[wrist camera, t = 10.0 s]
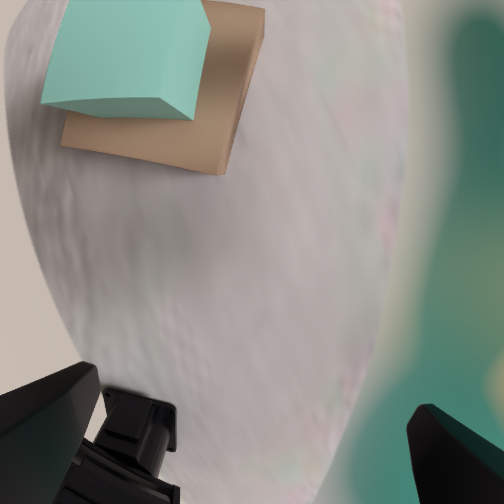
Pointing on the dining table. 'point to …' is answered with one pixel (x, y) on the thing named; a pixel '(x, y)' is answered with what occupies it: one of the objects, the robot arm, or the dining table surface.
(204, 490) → the dining table surface
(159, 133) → the walnut block
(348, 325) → the dining table surface
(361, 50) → the dining table surface
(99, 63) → the teal cube
